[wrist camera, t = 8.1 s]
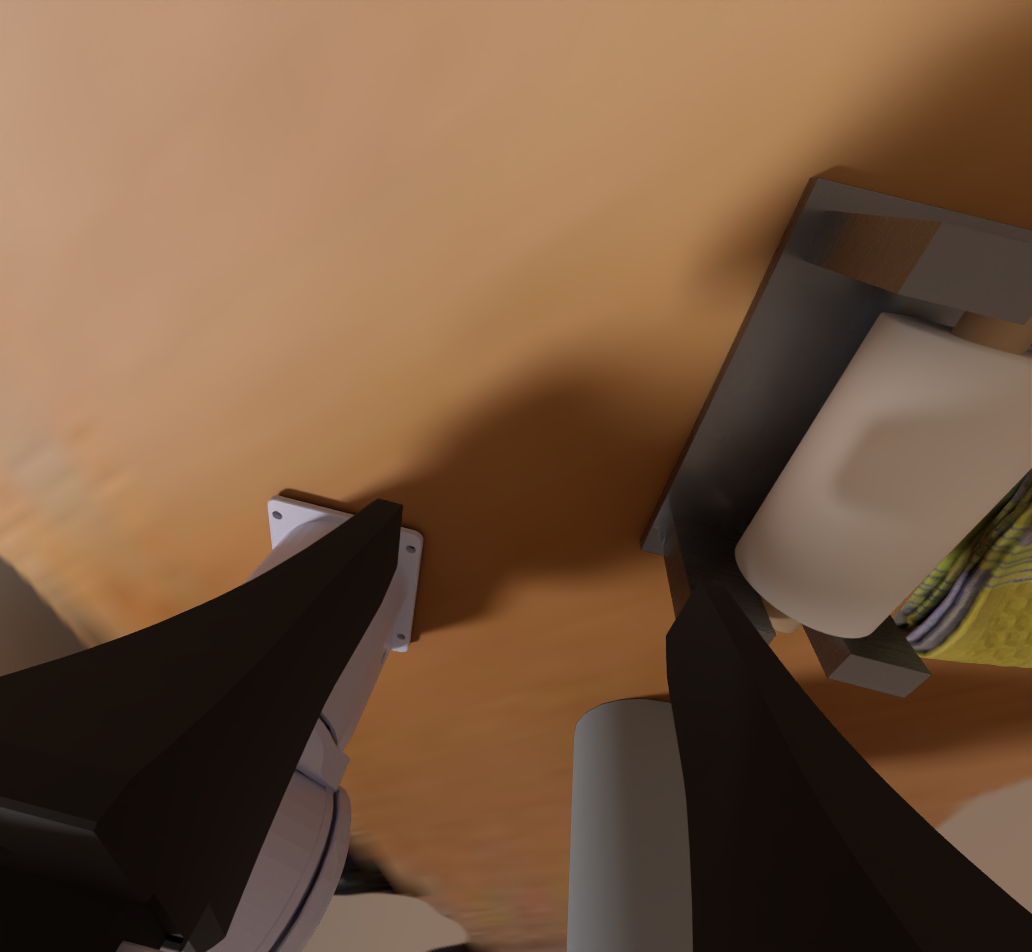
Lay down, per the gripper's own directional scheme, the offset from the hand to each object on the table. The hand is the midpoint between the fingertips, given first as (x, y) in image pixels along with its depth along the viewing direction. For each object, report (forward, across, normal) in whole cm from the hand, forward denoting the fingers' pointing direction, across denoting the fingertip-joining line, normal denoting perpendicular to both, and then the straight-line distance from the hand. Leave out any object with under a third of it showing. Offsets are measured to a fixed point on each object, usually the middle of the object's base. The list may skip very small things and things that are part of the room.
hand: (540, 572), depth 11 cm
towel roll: (+6, -10, -2) cm, 12 cm away
